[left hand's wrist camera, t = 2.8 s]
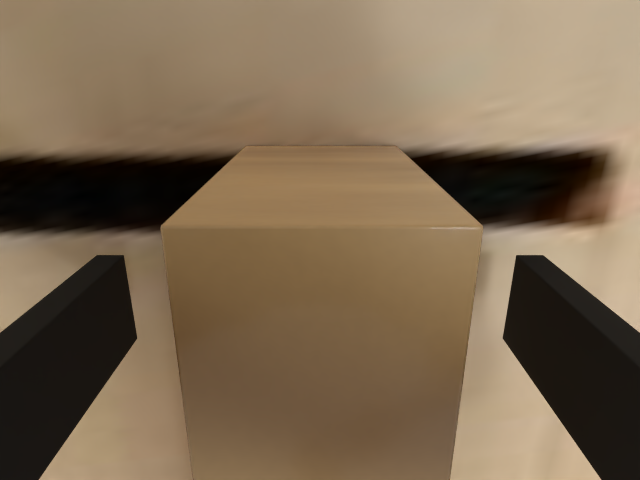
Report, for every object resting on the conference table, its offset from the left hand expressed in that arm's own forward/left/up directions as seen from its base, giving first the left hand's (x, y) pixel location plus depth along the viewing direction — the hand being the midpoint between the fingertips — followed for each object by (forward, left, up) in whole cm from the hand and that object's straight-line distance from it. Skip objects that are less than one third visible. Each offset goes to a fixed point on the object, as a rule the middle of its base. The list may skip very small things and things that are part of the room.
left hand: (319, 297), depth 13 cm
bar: (+19, +14, -2) cm, 23 cm away
